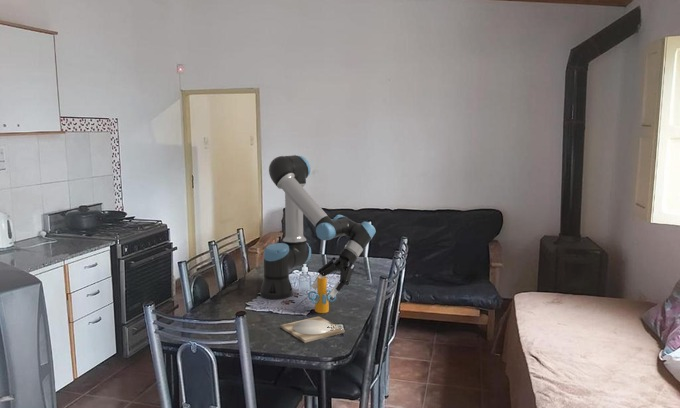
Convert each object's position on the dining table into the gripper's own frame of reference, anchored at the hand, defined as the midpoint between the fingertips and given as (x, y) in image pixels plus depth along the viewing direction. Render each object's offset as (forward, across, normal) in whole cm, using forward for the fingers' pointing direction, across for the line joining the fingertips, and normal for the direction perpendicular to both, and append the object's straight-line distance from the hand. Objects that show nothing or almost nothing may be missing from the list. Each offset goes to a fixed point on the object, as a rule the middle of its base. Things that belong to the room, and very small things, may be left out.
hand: (322, 291), depth 226 cm
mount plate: (+17, -15, +4) cm, 23 cm away
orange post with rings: (+6, +1, -7) cm, 9 cm away
